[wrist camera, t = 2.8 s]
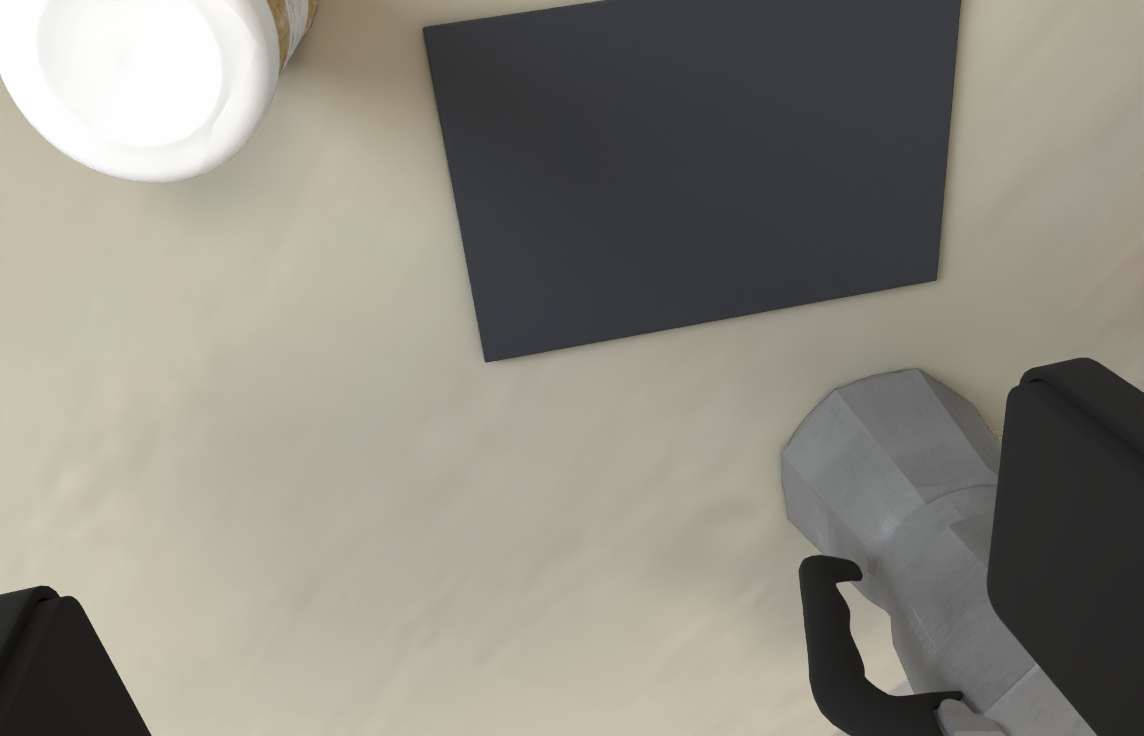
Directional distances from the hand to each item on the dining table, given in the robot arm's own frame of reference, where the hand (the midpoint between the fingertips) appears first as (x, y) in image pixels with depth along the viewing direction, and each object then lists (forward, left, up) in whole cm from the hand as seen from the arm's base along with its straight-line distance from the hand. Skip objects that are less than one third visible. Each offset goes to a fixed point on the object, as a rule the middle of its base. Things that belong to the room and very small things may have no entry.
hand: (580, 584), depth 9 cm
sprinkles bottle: (-4, -6, -24) cm, 25 cm away
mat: (+4, +8, -24) cm, 25 cm away
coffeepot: (+18, +14, -24) cm, 33 cm away
